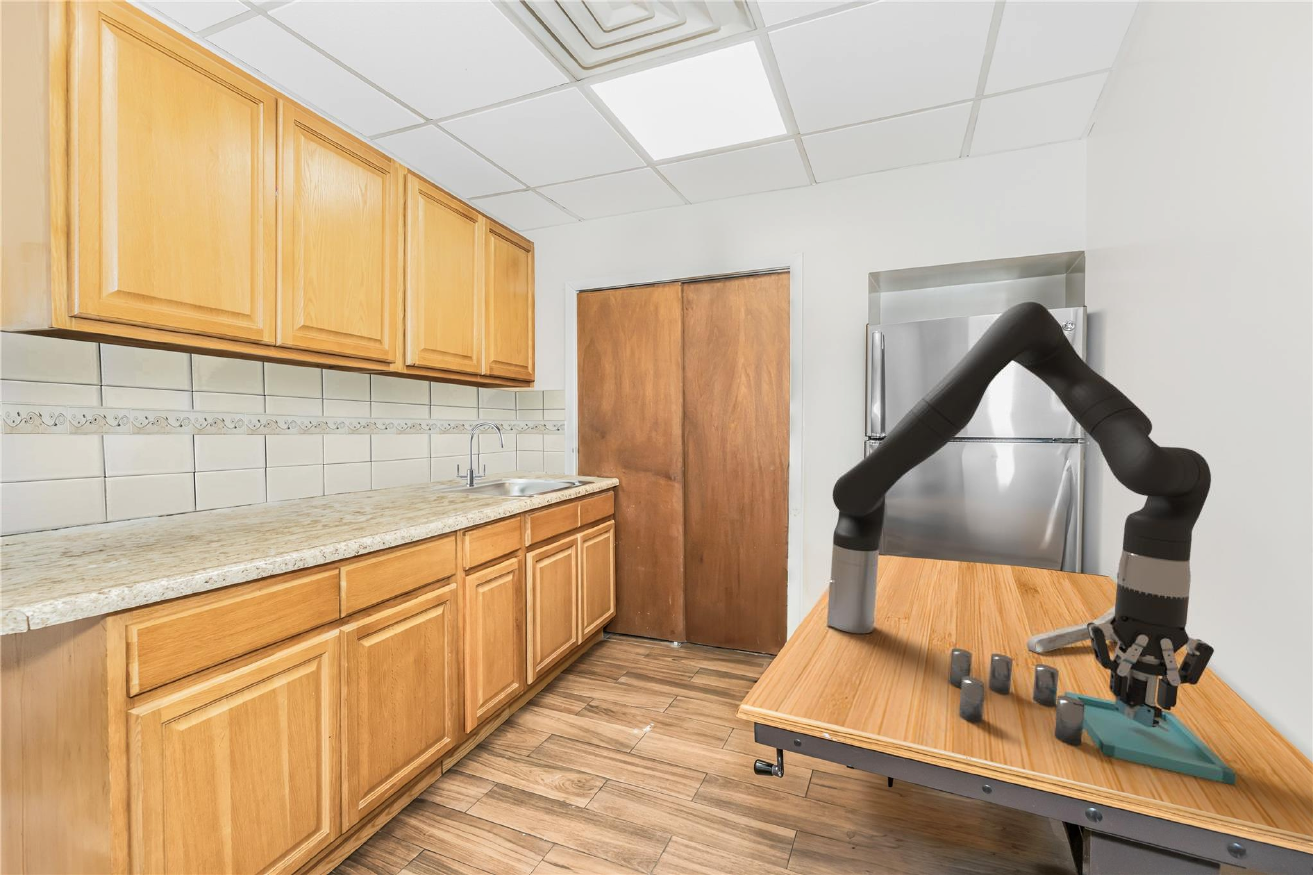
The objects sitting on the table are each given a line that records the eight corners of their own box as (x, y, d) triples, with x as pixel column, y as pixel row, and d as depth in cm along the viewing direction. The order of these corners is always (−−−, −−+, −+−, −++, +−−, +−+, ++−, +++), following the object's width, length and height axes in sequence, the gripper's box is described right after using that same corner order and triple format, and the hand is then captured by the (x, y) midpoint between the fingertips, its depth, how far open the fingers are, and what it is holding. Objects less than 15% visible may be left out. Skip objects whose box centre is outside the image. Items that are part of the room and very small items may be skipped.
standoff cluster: (960, 719, 79) (963, 683, 78) (947, 675, 93) (949, 644, 92) (1084, 748, 73) (1088, 709, 73) (1050, 696, 87) (1053, 663, 87)
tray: (1102, 754, 72) (1103, 743, 72) (1064, 700, 86) (1065, 691, 86) (1234, 785, 67) (1235, 773, 67) (1170, 722, 81) (1171, 712, 81)
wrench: (1026, 664, 106) (1128, 635, 115) (1035, 668, 104) (1138, 638, 113) (1026, 625, 105) (1129, 599, 114) (1035, 628, 104) (1138, 602, 113)
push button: (1182, 734, 74) (1191, 664, 73) (1153, 736, 72) (1162, 664, 72) (1130, 708, 80) (1138, 643, 80) (1102, 709, 79) (1110, 643, 79)
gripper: (1100, 585, 75) (1090, 703, 76) (1235, 603, 70) (1223, 730, 70) (1081, 571, 82) (1071, 679, 82) (1202, 587, 76) (1191, 702, 77)
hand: (1141, 702), depth 76 cm, fingers closed on push button, 4 cm apart
